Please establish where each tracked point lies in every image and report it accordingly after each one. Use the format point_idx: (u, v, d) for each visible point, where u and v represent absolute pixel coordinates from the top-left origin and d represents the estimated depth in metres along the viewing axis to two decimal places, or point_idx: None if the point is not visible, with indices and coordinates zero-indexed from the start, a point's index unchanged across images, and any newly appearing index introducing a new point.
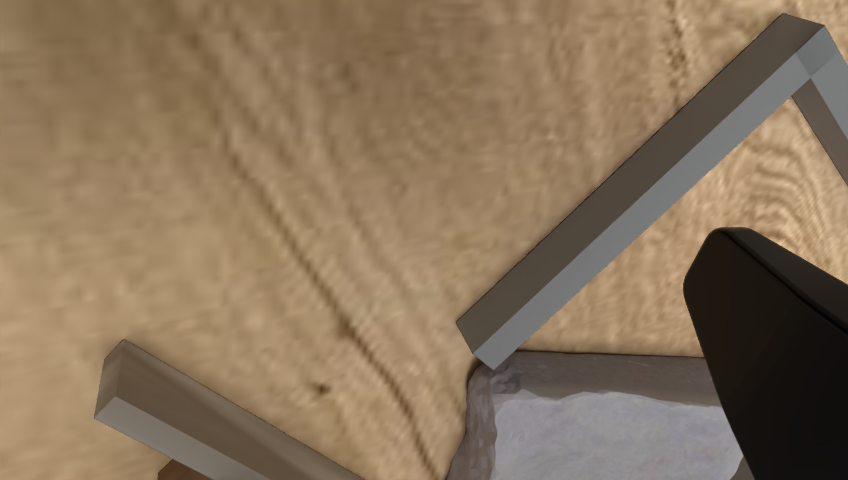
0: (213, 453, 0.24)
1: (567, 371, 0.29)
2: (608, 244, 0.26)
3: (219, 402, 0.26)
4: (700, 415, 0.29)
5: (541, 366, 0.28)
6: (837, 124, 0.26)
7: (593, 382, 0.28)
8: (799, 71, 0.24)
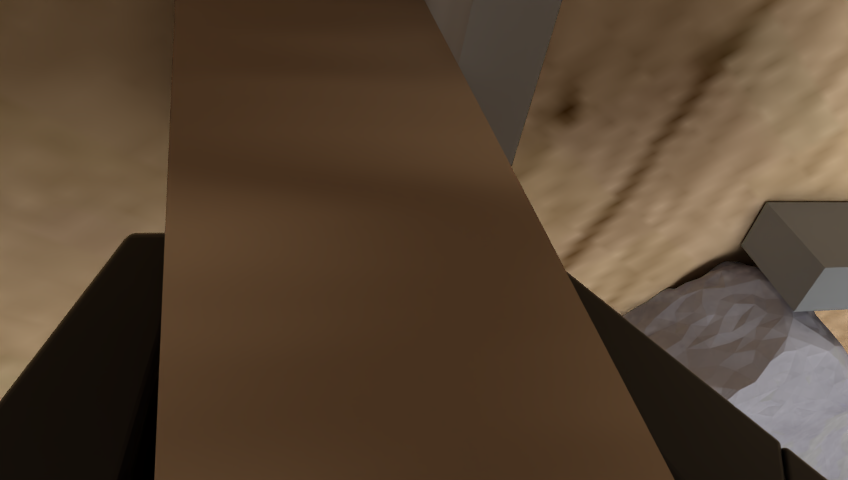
0: (545, 7, 0.08)
1: None
2: None
3: None
4: None
5: None
6: None
7: None
8: None
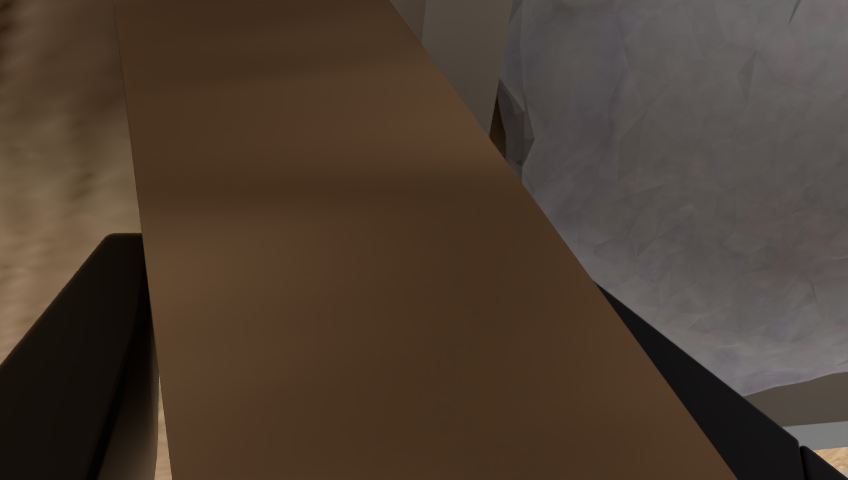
0: None
1: None
2: None
3: None
4: None
5: None
6: None
7: None
8: None
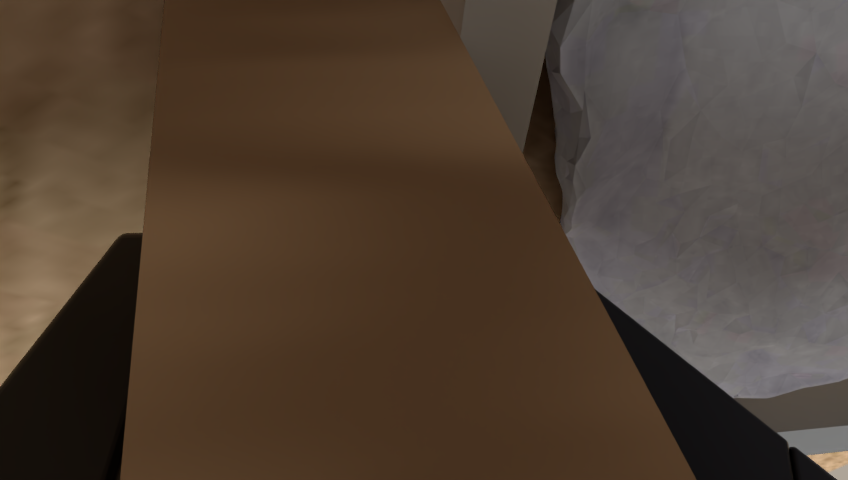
0: None
1: None
2: None
3: None
4: None
5: None
6: None
7: None
8: None
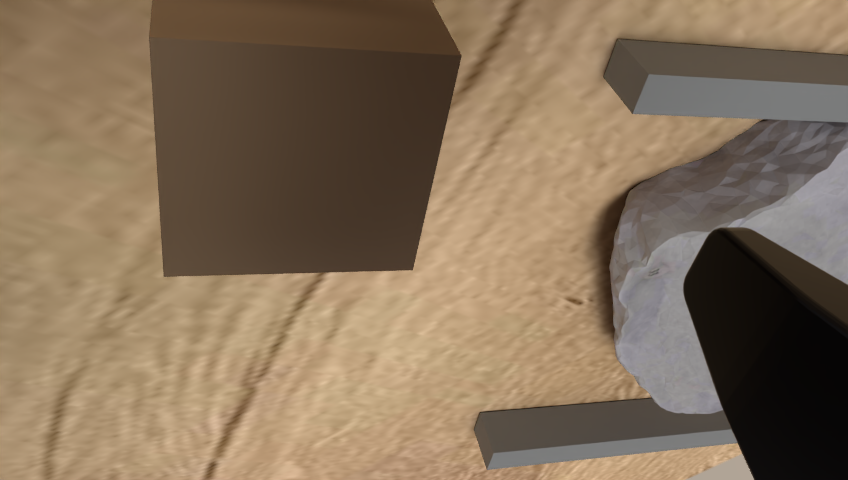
0: None
1: None
2: (823, 101, 0.22)
3: None
4: None
5: None
6: None
7: None
8: None
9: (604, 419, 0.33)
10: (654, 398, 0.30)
